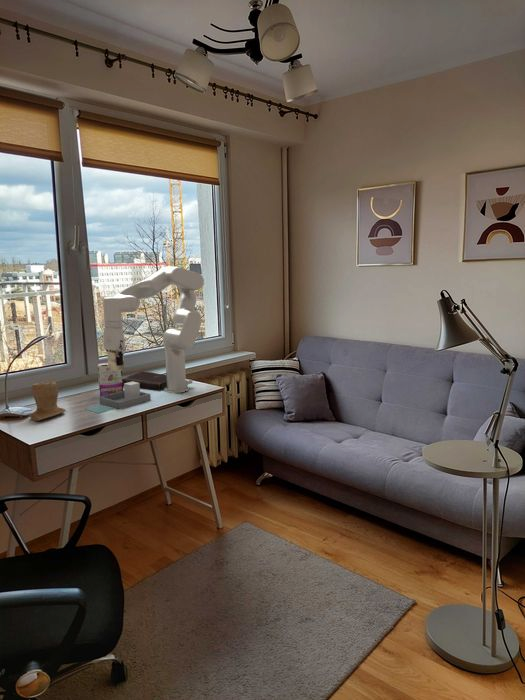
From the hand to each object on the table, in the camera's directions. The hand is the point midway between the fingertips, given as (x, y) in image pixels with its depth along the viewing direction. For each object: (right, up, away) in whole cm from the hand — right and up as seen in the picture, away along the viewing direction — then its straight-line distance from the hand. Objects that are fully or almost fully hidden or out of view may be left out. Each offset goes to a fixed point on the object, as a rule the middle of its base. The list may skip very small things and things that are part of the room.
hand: (116, 363), depth 225 cm
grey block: (+5, -17, +10) cm, 20 cm away
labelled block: (0, -2, 0) cm, 2 cm away
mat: (-6, -20, -4) cm, 22 cm away
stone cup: (-26, -22, -12) cm, 37 cm away
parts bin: (+2, -18, +7) cm, 20 cm away
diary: (+7, -13, +38) cm, 41 cm away
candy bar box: (-8, -16, +18) cm, 26 cm away
